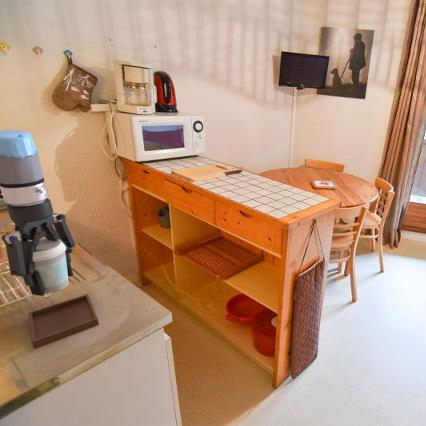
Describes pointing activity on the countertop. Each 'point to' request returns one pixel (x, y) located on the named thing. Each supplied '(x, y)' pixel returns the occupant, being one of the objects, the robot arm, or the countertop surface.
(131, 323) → the countertop surface
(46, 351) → the countertop surface
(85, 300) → the tray
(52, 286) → the coffee cup
